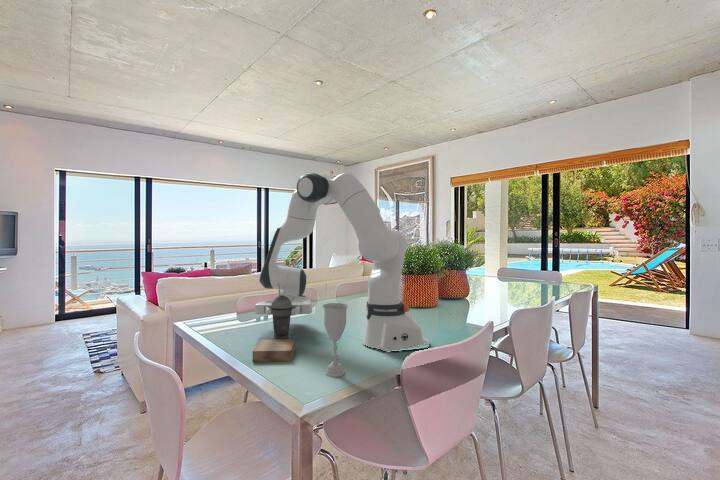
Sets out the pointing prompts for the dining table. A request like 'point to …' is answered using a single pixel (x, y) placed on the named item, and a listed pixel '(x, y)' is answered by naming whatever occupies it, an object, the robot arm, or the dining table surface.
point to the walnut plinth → (274, 350)
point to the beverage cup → (281, 316)
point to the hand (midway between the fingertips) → (281, 312)
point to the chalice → (335, 332)
